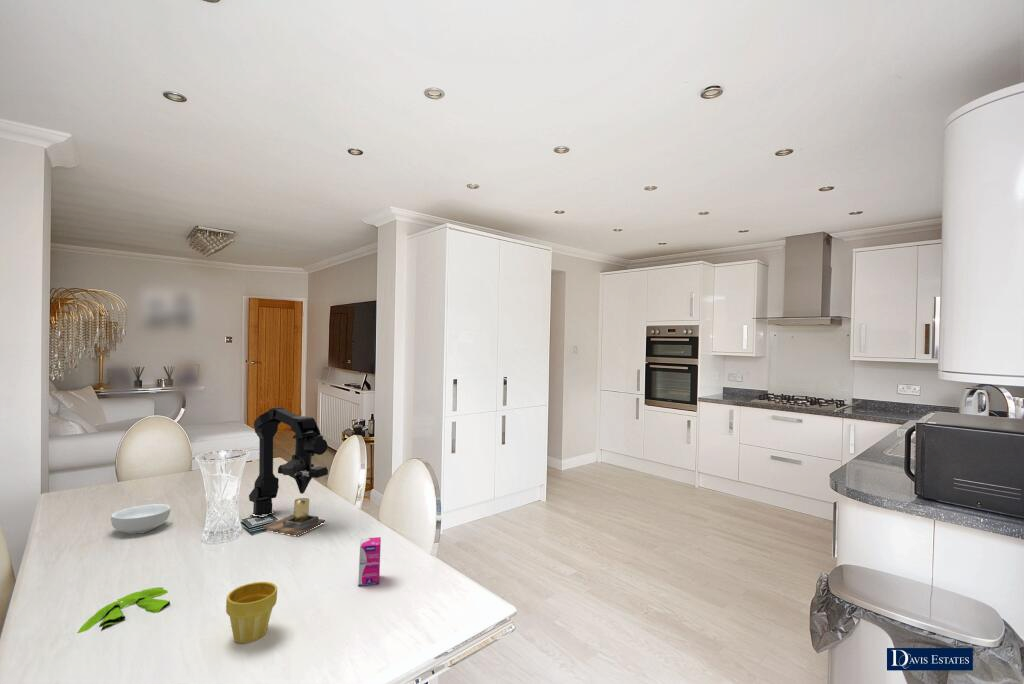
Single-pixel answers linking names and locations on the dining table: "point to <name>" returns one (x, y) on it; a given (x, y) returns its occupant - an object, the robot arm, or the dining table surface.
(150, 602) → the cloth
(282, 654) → the dining table surface
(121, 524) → the cereal bowl
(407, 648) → the dining table surface
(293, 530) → the jig
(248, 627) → the plant pot
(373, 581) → the supplement box
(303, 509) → the solid brass cylinder
